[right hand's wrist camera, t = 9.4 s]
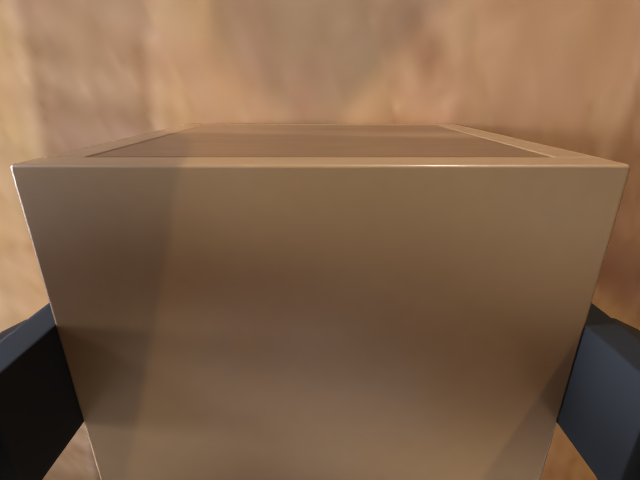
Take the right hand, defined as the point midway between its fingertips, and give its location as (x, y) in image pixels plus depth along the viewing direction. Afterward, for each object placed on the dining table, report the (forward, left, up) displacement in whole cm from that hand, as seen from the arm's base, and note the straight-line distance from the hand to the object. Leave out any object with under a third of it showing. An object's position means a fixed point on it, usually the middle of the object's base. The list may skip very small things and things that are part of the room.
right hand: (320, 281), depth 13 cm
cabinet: (+2, -5, -5) cm, 8 cm away
